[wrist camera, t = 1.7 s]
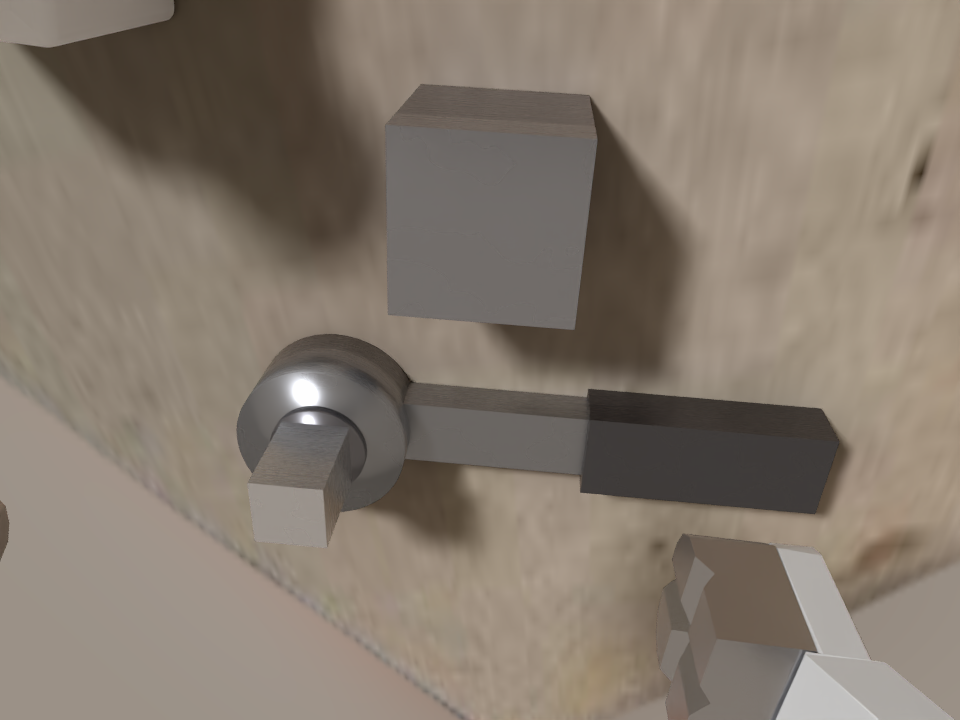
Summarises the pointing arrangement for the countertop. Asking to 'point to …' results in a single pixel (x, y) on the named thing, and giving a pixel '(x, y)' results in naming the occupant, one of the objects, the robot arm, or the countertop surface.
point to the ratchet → (504, 440)
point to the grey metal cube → (488, 205)
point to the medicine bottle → (75, 19)
